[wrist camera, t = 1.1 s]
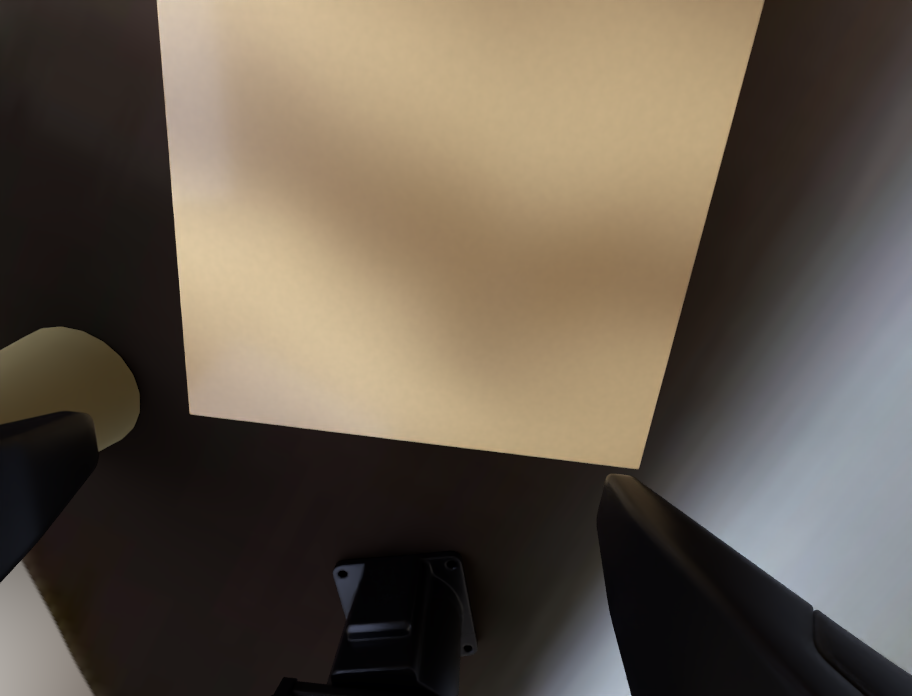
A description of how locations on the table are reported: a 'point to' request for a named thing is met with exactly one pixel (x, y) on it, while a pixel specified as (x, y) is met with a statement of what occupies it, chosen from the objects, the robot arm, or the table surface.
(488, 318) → the cabinet
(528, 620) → the table surface
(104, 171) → the table surface
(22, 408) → the cork
